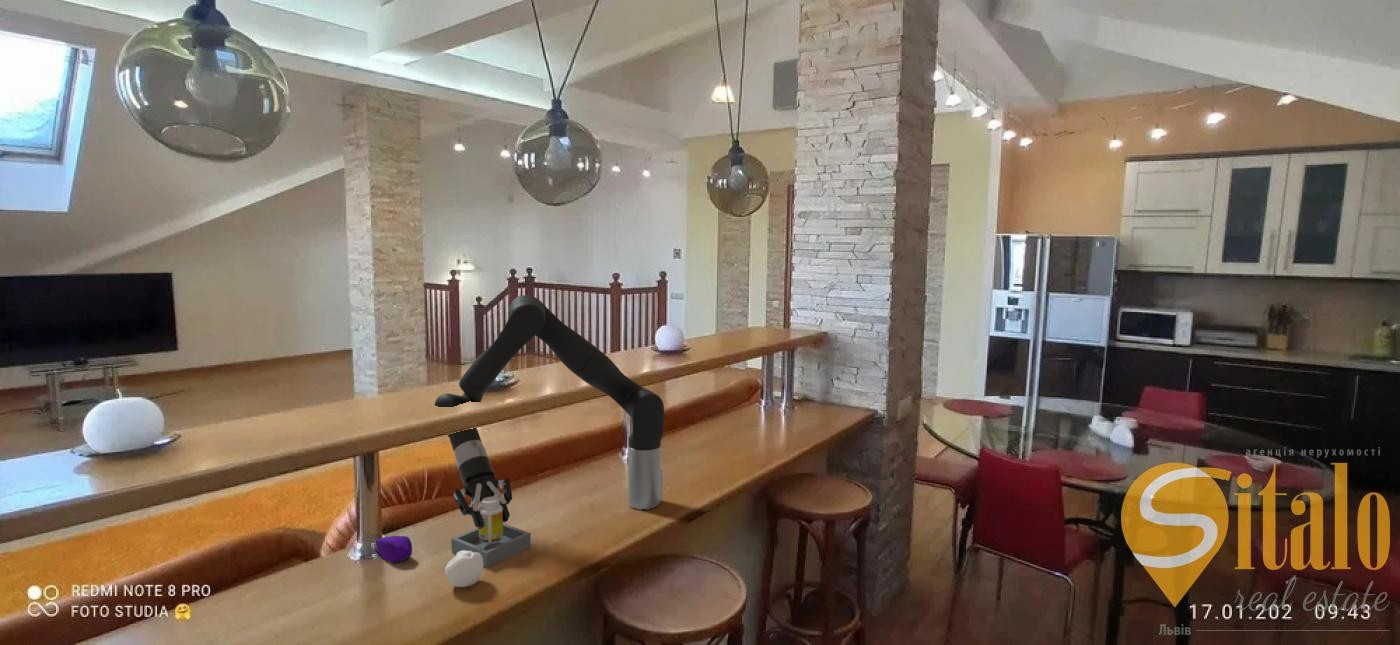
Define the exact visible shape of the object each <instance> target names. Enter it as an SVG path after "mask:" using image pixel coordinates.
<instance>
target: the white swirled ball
mask: <svg viewBox="0 0 1400 645" xmlns="http://www.w3.org/2000/svg"><path fill="white" fill-rule="evenodd" d="M483 571H484V565H483V557H482V556H481V554H480V553H478V552H474V553H473V552H472V551H459V552H457V554H455V556H454V557H453V558H451V559H450V560H449V561H448V563H447V565H446V566H445V568H444V574H445V577H446V579H447V580H448V582H449V583H450V584H451V585H452V586H454V587H457V588H467V587H468V588H469V587H470V586H473V585H474V584H476V582H478V581H479V580H480V577H481V576H482V573H483Z"/></svg>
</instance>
